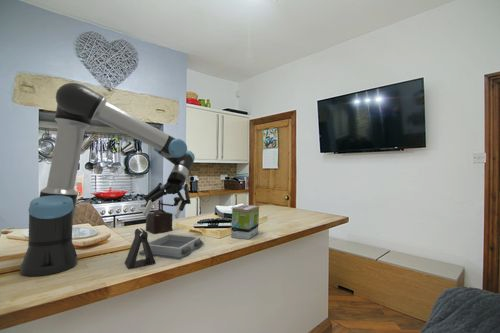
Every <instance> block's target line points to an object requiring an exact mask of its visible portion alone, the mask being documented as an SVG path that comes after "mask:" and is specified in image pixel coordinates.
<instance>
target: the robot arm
mask: <svg viewBox="0 0 500 333" xmlns="http://www.w3.org/2000/svg"><path fill="white" fill-rule="evenodd" d="M55 100H56V101H55V102H56V104H57V105H56V110H55V117H54V120H55V122H56V123H57V124H58V127H57V132H56V137H55V143H54V148H53V152H52V158H51V161H50V169H49V173H48V178H47V183H46V187H44V188H42V189H41V190H40V192H39V195H38V196H39V197H36V198H34V199H31V201H30V202H29V207H28V210H27V211H28V244H27V246H28V247H27V250H26V252H25V255H24V257H23V259H22V262H21V264H20V270H19V271H20V274H21V275H22V276H27V277H38V276H40V277H41V276H47V275H53V274H58V273H61V272H64V271H67V270H70V269H72V268H74V267H75V266H77V265H78V263H79V262H78V260H79V258H78V257H79V256H78V254H77V251H76V248H75V245H74V243H73V224H74V223H73V221H74V220H73V219H74V216H75V214H76V205H77V200H78V191H76V190H75V185H76V180H77V175H78V169H79V164H80V160H81V153H82V148H83V142H84V136H85V133H86V132H85V131H86V130H87V129H89V128H90V127H91V124H92V121H95V120H97V121H99V122H100V123H103V124H105V125H108V126H109V127H111V128H113V129H115V130H117V131H119V132H121V133H124V134H125V135H128V136H129V137H132V138H134V139H135V140H138V141H140V142H142V143H144V144H146V145H147V146H149V147H152V148H153V151H155V152H156V153H157V154H158V155H160V156H161V157H163V158H164V159H166V160H167V161H169V162H170V163H171V164H173V165H174V166H173V168H172V169H171V171H170V174H169V175H168V178H167V179H166V183H165V184H162V182H158V184H157V186H156V187H154V188H152V190H151V191H150V192H148V194H146V195H145V196H144V201H145V204H144V210H142V215H143V216H144V217H145V218H146V217H147V215H148V213H151V209H152V208H153V206H154V202H156V201H157V200H160V198H162V197H163V196H167V195H176V194H177V197H179V198H180V199H181V201H179V203H178V206H176V209H175V210H174V214H173V216H174V217H175V219H177V220H178V219H179V217H180V215H181V212H183V211H184V210H185V207H186V205H191V197H190V192H189V189H190V186H189V184H188V183H186V181H187V178H188V176H189V173H190V171H191V169H192V166H193V165H194V162H195V159H196V158H195V153H193V152H192V151H191V150H188V146H187V143H186V141H184V140H183V139H180V138H175V137H174V136H172V135H169V134H168V133H166V132H165V131H162V130H160V129H158V128H156V127H154V126H153V125H151V124H149V123H147V122H145V121H144V120H141V119H139V118H138V117H136V116H135V115H133V114H131V113H129V112H127V111H126V110H124V109H121V108H120V107H119V106H118V107H117V106H116V105H115V104H114V105H113V104H112V103H111V102H108V100H107V98H106V97H105V96H103V95H101V94H100V93H97V92H96V91H94V90H92V89H91V88H89V87H87V86H85V85H84V84H80V83H78V82H69V83H67V82H66V83H64V84H63V85H61V86H60V87H59V88H58V89H57V90H56V93H55ZM182 190H184V194H185V198H184V197H183V194H182V193H181V191H182Z"/></svg>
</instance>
